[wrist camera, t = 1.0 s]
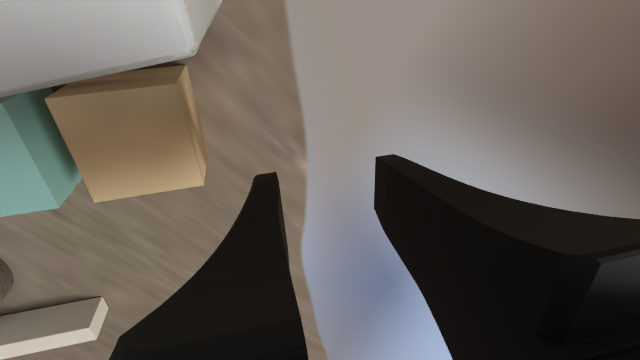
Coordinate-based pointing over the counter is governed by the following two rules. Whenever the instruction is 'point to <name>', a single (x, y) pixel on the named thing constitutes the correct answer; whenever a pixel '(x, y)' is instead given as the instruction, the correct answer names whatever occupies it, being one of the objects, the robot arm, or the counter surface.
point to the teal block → (33, 156)
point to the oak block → (133, 132)
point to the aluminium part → (5, 280)
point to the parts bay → (51, 327)
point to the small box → (94, 38)
